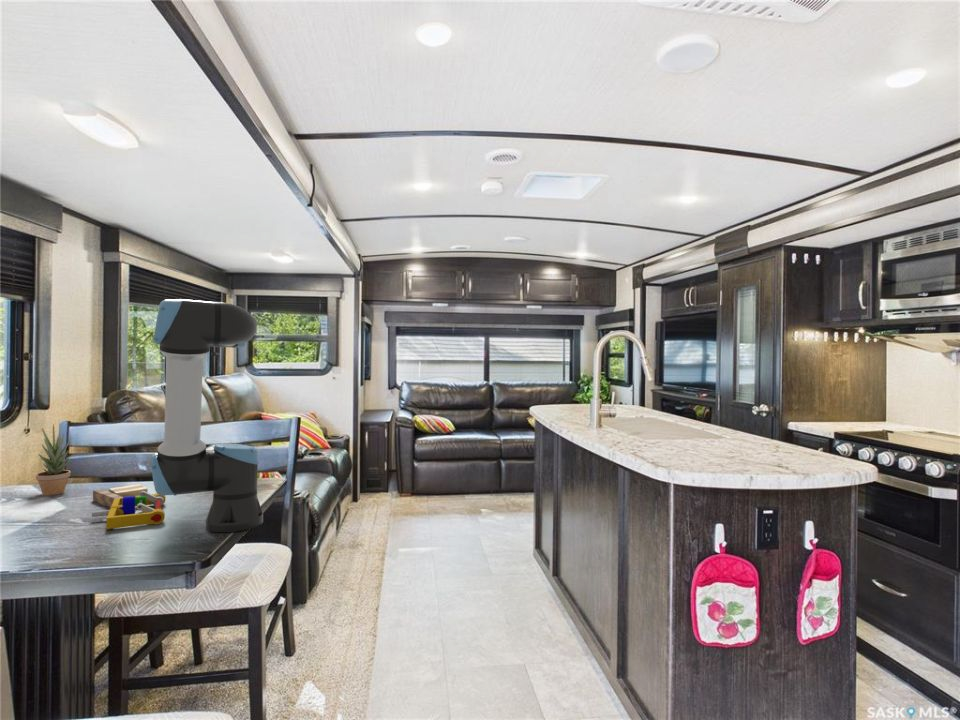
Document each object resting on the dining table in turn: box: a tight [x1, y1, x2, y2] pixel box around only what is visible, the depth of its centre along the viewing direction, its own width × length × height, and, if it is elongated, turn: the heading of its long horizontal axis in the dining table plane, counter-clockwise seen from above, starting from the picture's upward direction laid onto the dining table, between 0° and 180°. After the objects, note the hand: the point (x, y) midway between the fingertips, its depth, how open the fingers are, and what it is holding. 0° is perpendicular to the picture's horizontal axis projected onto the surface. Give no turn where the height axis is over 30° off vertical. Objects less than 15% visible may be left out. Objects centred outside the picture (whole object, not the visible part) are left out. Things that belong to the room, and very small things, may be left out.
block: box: [108, 483, 149, 497], centre depth 177 cm, size 9×9×4 cm
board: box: [92, 488, 123, 509], centre depth 170 cm, size 18×2×4 cm, turn 55°
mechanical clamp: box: [91, 491, 166, 530], centre depth 158 cm, size 18×6×30 cm
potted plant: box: [35, 423, 73, 496], centre depth 183 cm, size 10×10×25 cm
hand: (181, 433), depth 177 cm, fingers closed
